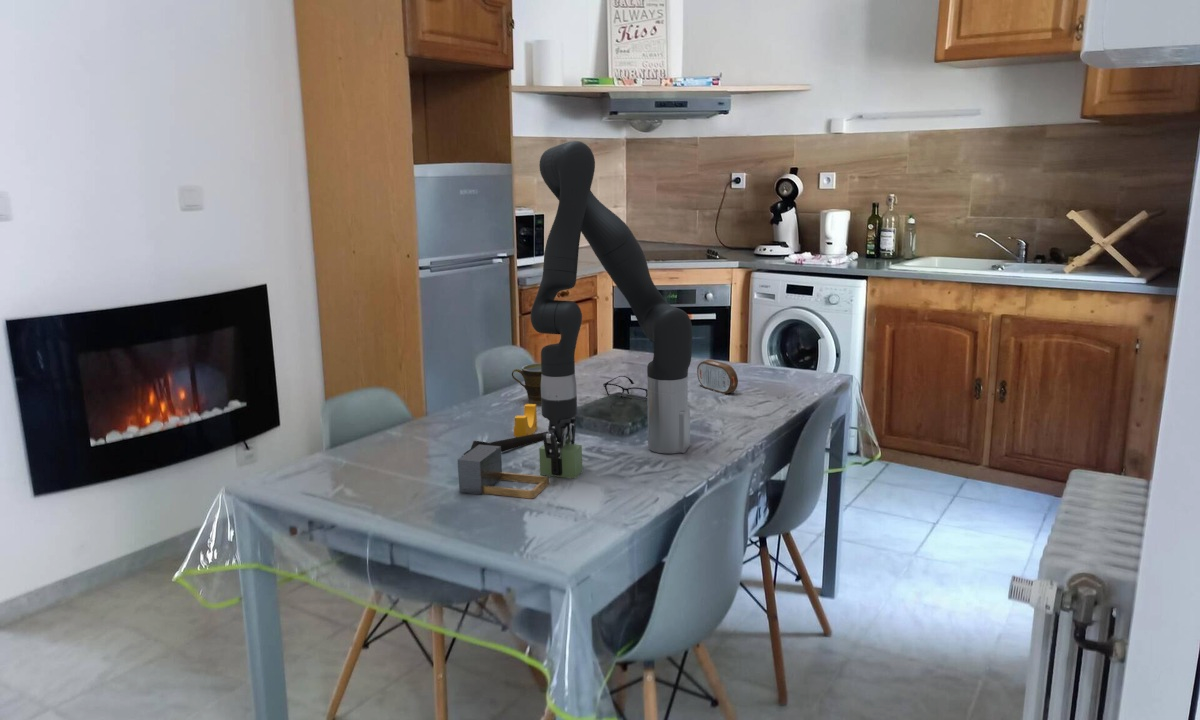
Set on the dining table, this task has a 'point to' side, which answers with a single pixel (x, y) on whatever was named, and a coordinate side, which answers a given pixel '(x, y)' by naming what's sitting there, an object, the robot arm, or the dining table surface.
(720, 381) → the tin
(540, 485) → the grey block with frame
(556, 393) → the robot arm
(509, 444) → the wrench
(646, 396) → the eyeglasses
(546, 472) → the sage green upright block
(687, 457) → the dining table surface
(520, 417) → the pipe clamp
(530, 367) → the ceramic cup
